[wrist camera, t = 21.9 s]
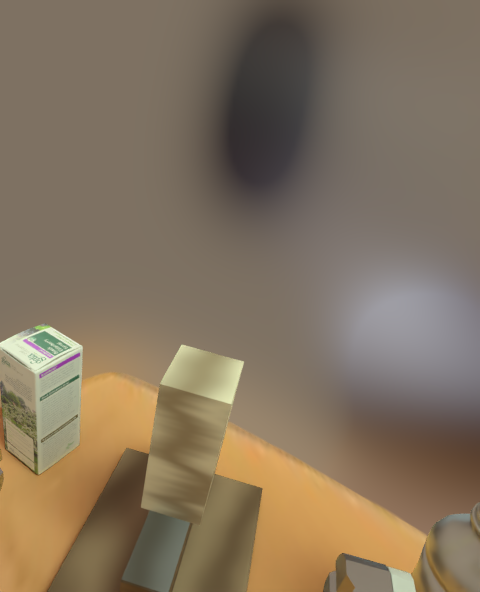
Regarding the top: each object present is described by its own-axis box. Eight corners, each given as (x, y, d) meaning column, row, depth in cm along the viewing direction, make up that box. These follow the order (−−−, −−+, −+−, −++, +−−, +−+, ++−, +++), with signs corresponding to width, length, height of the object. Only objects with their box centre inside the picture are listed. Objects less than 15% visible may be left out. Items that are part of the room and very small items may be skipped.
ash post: (214, 475, 39) (243, 361, 33) (199, 525, 34) (231, 404, 28) (161, 460, 39) (181, 344, 33) (140, 507, 34) (160, 383, 28)
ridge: (259, 497, 48) (278, 440, 44) (227, 698, 32) (253, 639, 28) (125, 456, 49) (132, 397, 45) (30, 632, 33) (27, 566, 29)
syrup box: (81, 445, 49) (86, 343, 43) (36, 479, 44) (34, 369, 38) (48, 420, 51) (47, 319, 45) (1, 450, 47) (-6, 342, 40)
